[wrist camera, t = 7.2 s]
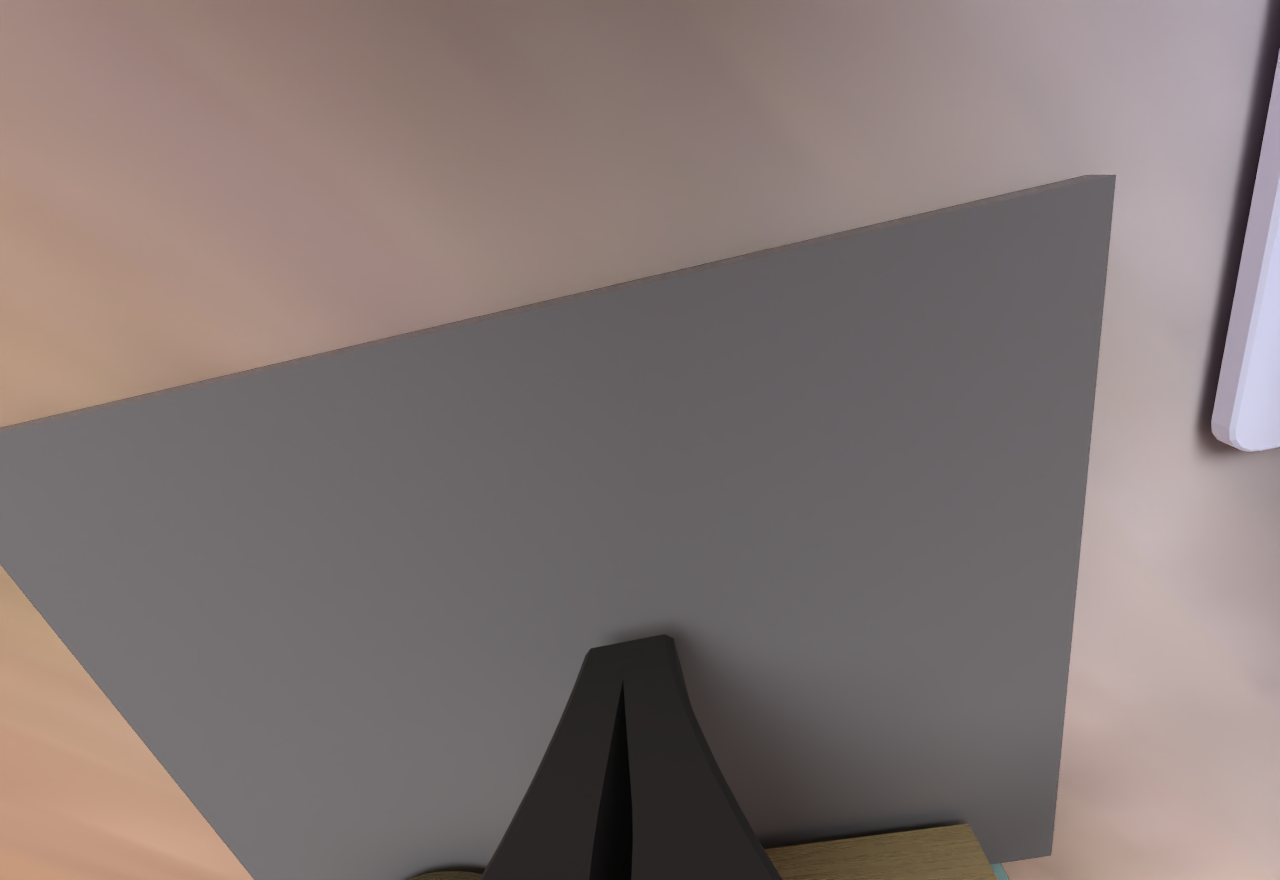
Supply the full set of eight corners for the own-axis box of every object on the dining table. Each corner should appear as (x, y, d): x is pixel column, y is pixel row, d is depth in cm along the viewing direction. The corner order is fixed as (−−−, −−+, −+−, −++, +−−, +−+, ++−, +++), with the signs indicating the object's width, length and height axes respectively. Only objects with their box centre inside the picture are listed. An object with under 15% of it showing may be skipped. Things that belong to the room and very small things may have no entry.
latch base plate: (1087, 174, 8) (1116, 174, 7) (1037, 832, 14) (1051, 855, 13) (-53, 440, 9) (-89, 454, 9) (334, 943, 15) (325, 968, 14)
